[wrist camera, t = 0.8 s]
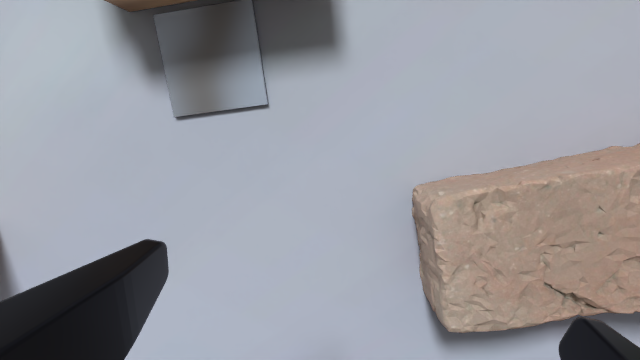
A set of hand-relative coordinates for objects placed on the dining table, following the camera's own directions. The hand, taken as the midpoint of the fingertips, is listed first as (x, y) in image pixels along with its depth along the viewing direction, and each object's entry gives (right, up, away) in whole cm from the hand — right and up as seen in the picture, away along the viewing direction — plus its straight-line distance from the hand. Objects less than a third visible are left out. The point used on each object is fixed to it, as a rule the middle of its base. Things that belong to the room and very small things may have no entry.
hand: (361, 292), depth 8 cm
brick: (+13, 0, +14) cm, 19 cm away
